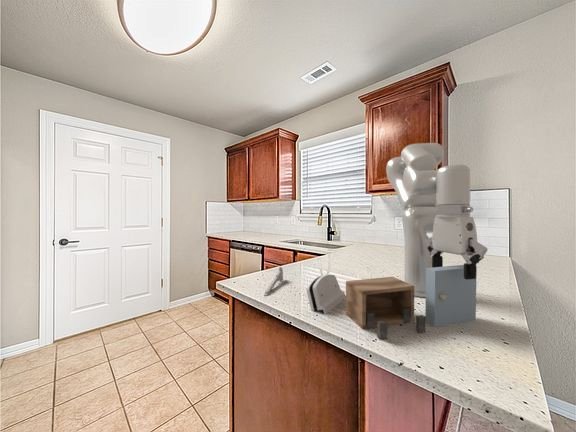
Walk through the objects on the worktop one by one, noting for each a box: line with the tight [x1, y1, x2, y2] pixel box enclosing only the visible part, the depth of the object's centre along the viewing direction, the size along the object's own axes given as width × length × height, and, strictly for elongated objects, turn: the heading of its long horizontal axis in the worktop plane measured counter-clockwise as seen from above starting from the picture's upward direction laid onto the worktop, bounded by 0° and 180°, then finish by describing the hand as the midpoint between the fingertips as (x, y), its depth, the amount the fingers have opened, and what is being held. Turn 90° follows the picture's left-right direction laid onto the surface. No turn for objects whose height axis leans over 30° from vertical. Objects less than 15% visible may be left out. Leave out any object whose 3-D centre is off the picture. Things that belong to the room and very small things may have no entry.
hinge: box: [306, 274, 346, 315], centre depth 80 cm, size 17×5×10 cm, turn 145°
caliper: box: [263, 266, 284, 297], centre depth 96 cm, size 20×1×6 cm, turn 164°
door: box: [424, 264, 478, 328], centre depth 65 cm, size 4×14×15 cm, turn 104°
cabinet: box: [345, 276, 427, 340], centre depth 66 cm, size 14×16×10 cm
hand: (452, 274), depth 65 cm, fingers open, 9 cm apart
